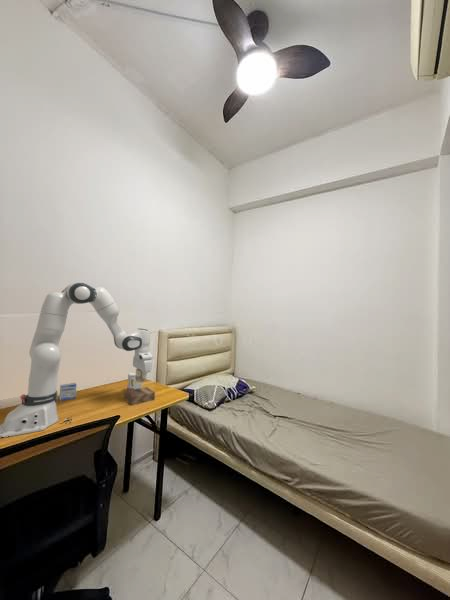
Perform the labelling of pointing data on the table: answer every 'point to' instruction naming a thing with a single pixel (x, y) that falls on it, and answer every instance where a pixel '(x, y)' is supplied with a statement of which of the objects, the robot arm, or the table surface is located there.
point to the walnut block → (139, 395)
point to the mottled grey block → (138, 376)
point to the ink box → (133, 382)
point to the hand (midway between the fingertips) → (141, 376)
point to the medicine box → (67, 391)
